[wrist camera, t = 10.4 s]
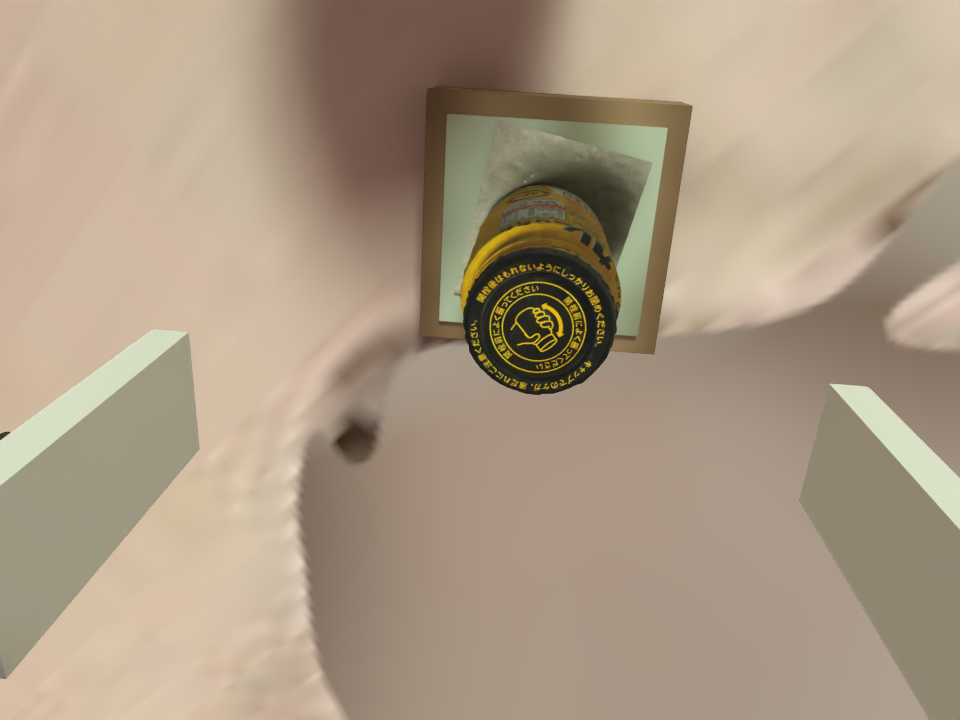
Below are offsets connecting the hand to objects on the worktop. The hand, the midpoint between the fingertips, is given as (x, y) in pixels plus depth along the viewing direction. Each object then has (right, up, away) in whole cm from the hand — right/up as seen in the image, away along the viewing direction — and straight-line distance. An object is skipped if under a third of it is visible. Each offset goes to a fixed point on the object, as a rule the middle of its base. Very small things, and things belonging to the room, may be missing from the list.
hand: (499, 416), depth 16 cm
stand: (+3, +9, +23) cm, 25 cm away
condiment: (+3, +8, +21) cm, 22 cm away
